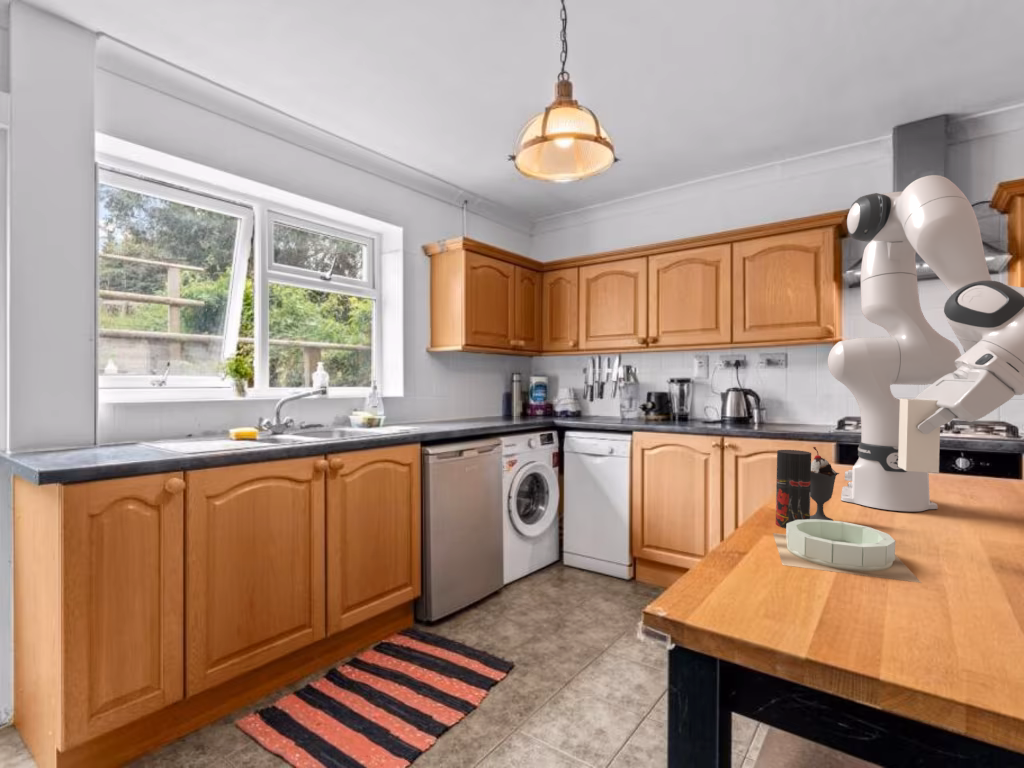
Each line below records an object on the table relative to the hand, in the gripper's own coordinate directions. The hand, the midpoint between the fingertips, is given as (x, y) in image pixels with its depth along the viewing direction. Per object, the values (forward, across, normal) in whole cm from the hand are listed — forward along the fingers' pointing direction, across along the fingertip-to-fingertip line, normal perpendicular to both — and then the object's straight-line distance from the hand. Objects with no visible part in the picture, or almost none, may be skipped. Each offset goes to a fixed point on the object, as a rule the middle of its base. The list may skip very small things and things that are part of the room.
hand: (914, 429), depth 92 cm
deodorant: (+27, -8, +3) cm, 29 cm away
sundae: (+23, -17, +7) cm, 29 cm away
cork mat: (+24, +8, +6) cm, 26 cm away
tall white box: (+4, 0, +5) cm, 7 cm away
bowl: (+23, +8, +6) cm, 25 cm away
